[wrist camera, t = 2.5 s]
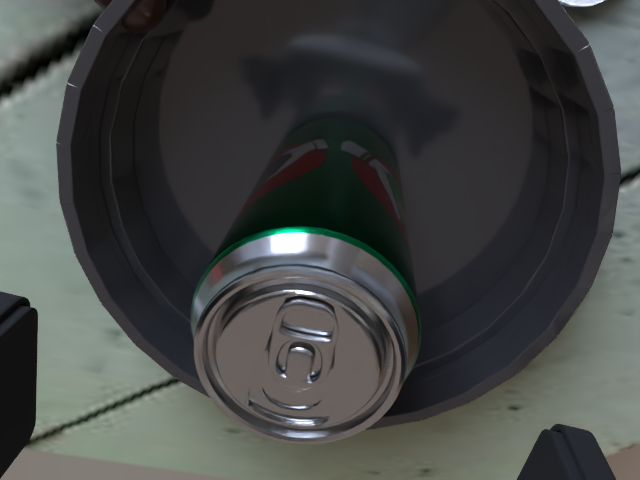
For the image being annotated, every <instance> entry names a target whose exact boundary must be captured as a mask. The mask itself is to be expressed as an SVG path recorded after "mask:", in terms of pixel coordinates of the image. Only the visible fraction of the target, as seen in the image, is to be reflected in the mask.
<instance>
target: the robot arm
mask: <svg viewBox="0 0 640 480" xmlns="http://www.w3.org/2000/svg"><path fill="white" fill-rule="evenodd" d="M37 332H38V313H37V310H36V309H35V308H31V307H30V303H29V300H28V299H27V298H25V297H21V296H16V295H12V294H8V293H4V292H0V478H1V477H2V476H3V474H4V473H5V472H6V470H7V469H8V468H9V466H10V465H11V464H12V462H13V461H14V459H15V458H16V457H17V456H18V454H19V453H20V452H21V450H22V449H23V448H24V447H25V445H26V444H27V442H28V441H29V439H30V437H31V435H32V433H33V430H34V427H35V421H36V379H37ZM517 480H616V478H615V476H614V474H613V472H612V471H611V468H610V466H609V465H608V463H607V461H606V459H605V457H604V455H603V453H602V451H601V449H600V447H599V445H598V443H597V441H596V439H595V437H594V436H593V434H592V433H591V432H589V431H587V430H583V429H579V428H575V427H570V426H566V425H562V424H555V425H554V426H553V427H552V428H551V429H550V430H548V429H545V430H543V431H542V432H541V434H540V435H539V437H538V439H537V441H536V443H535V445H534V447H533V449H532V451H531V453H530V455H529V457H528V459H527V461H526V463H525V465H524V466H523V468H522V470H521V472H520V474H519V476H518V478H517Z"/></svg>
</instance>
